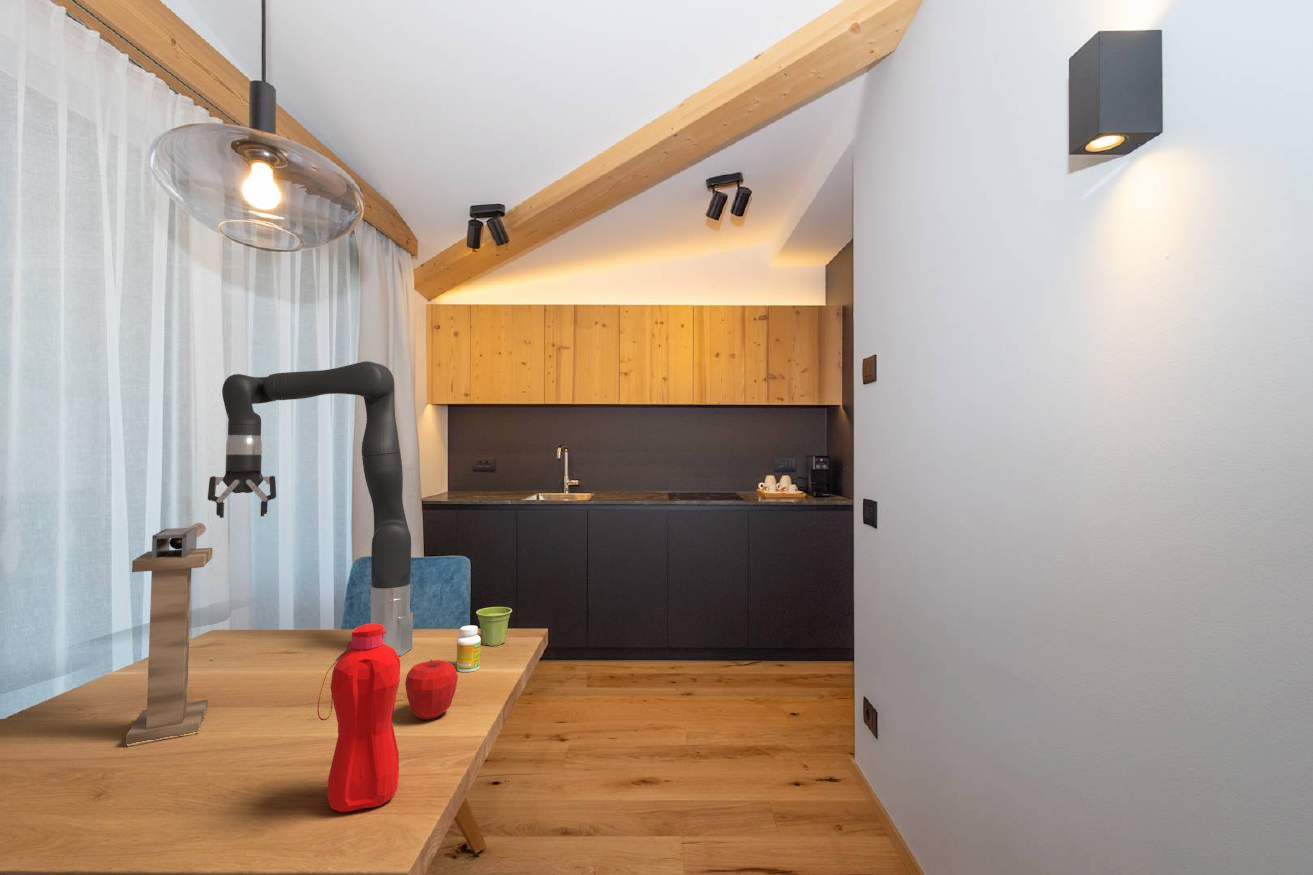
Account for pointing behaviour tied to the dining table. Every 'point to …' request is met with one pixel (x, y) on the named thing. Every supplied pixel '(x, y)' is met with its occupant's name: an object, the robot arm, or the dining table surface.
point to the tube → (177, 542)
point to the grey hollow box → (163, 538)
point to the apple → (431, 688)
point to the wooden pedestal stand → (169, 647)
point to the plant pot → (493, 624)
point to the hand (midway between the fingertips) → (242, 516)
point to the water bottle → (364, 722)
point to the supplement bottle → (468, 649)
